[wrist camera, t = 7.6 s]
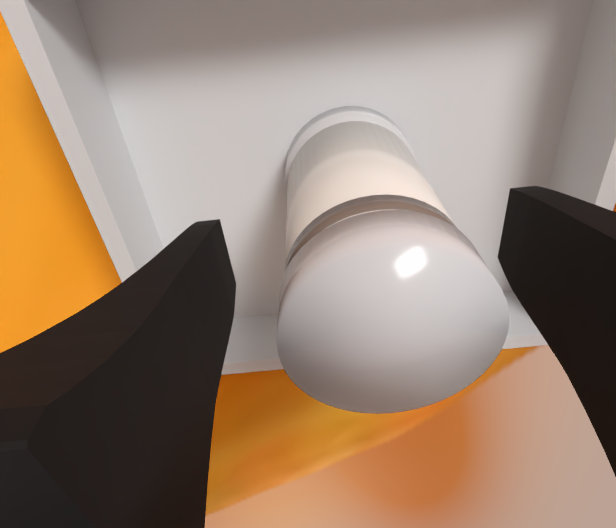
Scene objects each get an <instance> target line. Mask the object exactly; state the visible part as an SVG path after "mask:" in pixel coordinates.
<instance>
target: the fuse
mask: <svg viewBox="0 0 616 528" xmlns="http://www.w3.org/2000/svg"><path fill="white" fill-rule="evenodd" d="M285 194H286V198H287V221H286V250H285V271H284V276H283V278H282V281H281V286H280V291H279V307H278V327H277V349H278V355H279V358H280V362H281V364H282V366H283V368H284V370H285V372H286V373H287V375H288V376H289V378H290V379H291V380H292V381H293V382H294V383H295V384H296V385H297V386H298V387H299V388H300V389H301V390H302V391H304V392H305V393H306V394H308V395H309V396H311V397H313V398H314V399H316V400H318V401H320V402H322V403H325V404H327V405H329V406H333V407H336V408H339V409H343V410H348V411H352V412H360V413H377V414H378V413H394V412H402V411H408V410H413V409H417V408H421V407H424V406H428V405H431V404H433V403H436V402H439V401H441V400H444V399H446V398H448V397H450V396H452V395H454V394H456V393H457V392H459V391H461V390H462V389H464V388H466V387H467V386H468V385H470V384H471V383H472V382H474V381H475V380H476V379H477V378H479V377H480V376H481V375H482V374H483V373H484V372H485V371H486V370H487V369H488V368H489V367H490V365H491V364H492V363H493V362H494V360H495V359H496V357H497V356H498V355H499V353H500V351H501V349H502V347H503V345H504V343H505V340H506V337H507V334H508V328H509V308H508V304H507V300H506V298H505V295H504V293H503V291H502V289H501V287H500V286H499V284H498V283H497V281H496V279H495V278H494V276H493V275H492V273H491V272H490V270H489V268H488V267H487V265H486V264H485V262H484V261H483V259H482V257H481V256H480V254H479V253H478V251H477V250H476V248H475V247H474V245H473V244H472V243H471V241H470V240H469V239H468V238H467V237H466V236H465V235H464V234H463V233H462V232H461V231H460V230H458V229H457V227H456V226H455V224H454V223H453V221H452V219H451V218H450V216H449V214H448V213H447V211H446V210H445V208H444V206H443V205H442V203H441V201H440V200H439V198H438V197H437V195H436V193H435V192H434V190H433V188H432V187H431V185H430V183H429V182H428V180H427V179H426V177H425V175H424V174H423V172H422V170H421V169H420V167H419V166H418V163H417V159H416V156H415V153H414V151H413V149H412V147H411V146H410V144H409V143H408V141H407V139H406V138H405V136H404V135H403V133H402V132H401V130H400V129H399V127H398V126H397V125H396V124H395V123H394V122H393V121H392V120H391V119H389V118H388V117H387V116H385V115H383V114H382V113H380V112H378V111H375V110H373V109H370V108H366V107H360V106H343V107H338V108H334V109H331V110H327V111H325V112H323V113H321V114H319V115H317V116H316V117H314V118H313V119H311V120H310V121H309V122H308V123H306V124H305V125H304V126H303V127H302V128H301V130H300V131H299V132H298V133H297V135H296V136H295V138H294V139H293V141H292V143H291V145H290V148H289V151H288V153H287V158H286V166H285Z"/></svg>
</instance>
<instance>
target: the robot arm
mask: <svg viewBox="0 0 616 528" xmlns="http://www.w3.org/2000/svg"><path fill="white" fill-rule="evenodd" d="M498 260H499V262H500V265H501V267H502V269H503V272H504V274H505V276H506V278H507V281H508V283H509V285H510V287H511V289H512V291H513V292H514V294H515V295H516V297H517V298H518V300H519V302H520V303H521V305H522V306H523V308H524V309H525V311H526V312H527V314H528V315H529V317H530V318H531V320H532V321H533V323H534V324H535V326H536V327H537V329H538V330H539V332H540V333H541V335H542V336H543V338H544V339H545V341H546V342H547V344H548V345H549V347H550V348H551V350H552V351H553V353H554V354H555V356H556V357H557V359H558V360H559V362H560V364H561V365H562V367H563V369H564V370H565V372H566V374H567V375H568V377H569V379H570V381H571V383H572V385H573V387H574V389H575V391H576V393H577V395H578V397H579V399H580V401H581V403H582V405H583V406H584V409H585V410H586V413H587V415H588V417H589V419H590V421H591V423H592V425H593V427H594V429H595V431H596V434H597V436H598V438H599V440H600V442H601V444H602V446H603V449H604V451H605V453H606V455H607V457H608V460H609V462H610V464H611V467H612V469H613V471H614V474H615V476H616V212H614V211H611V210H608V209H606V208H603V207H600V206H597V205H595V204H592V203H589V202H586V201H583V200H581V199H578V198H575V197H572V196H570V195H567V194H564V193H561V192H558V191H555V190H551V189H548V188H544V187H539V186H528V187H518V188H510V191H509V197H508V202H507V208H506V213H505V219H504V224H503V230H502V235H501V241H500V247H499V252H498ZM235 296H236V281H235V277H234V273H233V269H232V265H231V261H230V257H229V253H228V249H227V245H226V242H225V238H224V234H223V230H222V226H221V222H220V219H217V220H207V221H198V222H195V223H193V224H192V225H191V226H189V227H188V228H187V229H186V230H185V231H183V232H182V233H181V234H180V235H179V236H178V237H176V238H175V239H174V240H173V241H172V242H171V243H170V244H169V245H167V246H166V247H165V248H164V249H163V250H162V251H160V252H159V253H158V254H157V255H156V256H155V257H154V258H152V259H151V260H150V261H149V262H148V263H146V264H145V265H144V266H143V267H141V268H140V269H139V270H138V271H136V272H135V273H134V274H132V275H131V276H130V277H129V278H127V279H126V280H125V281H124V282H122V283H121V284H120V285H118V286H117V287H116V288H114V289H113V290H111V291H110V292H109V293H107V294H106V295H104V296H103V297H101V298H100V299H98V300H97V301H95V302H94V303H92V304H90V305H89V306H87V307H86V308H84V309H83V310H81V311H79V312H78V313H76V314H74V315H73V316H71V317H69V318H67V319H65V320H64V321H62V322H60V323H58V324H56V325H55V326H53V327H51V328H49V329H47V330H46V331H44V332H42V333H40V334H38V335H37V336H35V337H33V338H31V339H29V340H27V341H25V342H23V343H21V344H19V345H17V346H14V347H12V348H10V349H8V350H6V351H4V352H2V353H0V528H204V526H205V511H206V496H207V482H208V471H209V460H210V448H211V438H212V429H213V420H214V410H215V403H216V397H217V392H218V387H219V382H220V378H221V373H222V369H223V364H224V360H225V355H226V351H227V346H228V342H229V337H230V333H231V328H232V323H233V318H234V310H235Z"/></svg>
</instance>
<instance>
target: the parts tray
mask: <svg viewBox="0 0 616 528" xmlns="http://www.w3.org/2000/svg"><path fill="white" fill-rule="evenodd" d="M0 11H1V13H2V16H3V18H4V20H5V22H6V25H7V27H8V29H9V31H10V34H11V36H12V38H13V40H14V43H15V45H16V47H17V49H18V51H19V54H20V56H21V58H22V60H23V63H24V65H25V67H26V69H27V72H28V74H29V76H30V78H31V80H32V83H33V85H34V87H35V89H36V92H37V94H38V96H39V98H40V101H41V103H42V105H43V107H44V109H45V112H46V114H47V116H48V118H49V121H50V123H51V125H52V127H53V130H54V132H55V134H56V136H57V138H58V141H59V143H60V145H61V147H62V150H63V152H64V154H65V156H66V159H67V161H68V163H69V165H70V167H71V170H72V172H73V174H74V176H75V179H76V181H77V183H78V185H79V188H80V190H81V192H82V194H83V196H84V199H85V201H86V203H87V205H88V208H89V210H90V212H91V214H92V217H93V219H94V221H95V223H96V226H97V228H98V230H99V232H100V234H101V237H102V239H103V241H104V243H105V246H106V248H107V250H108V252H109V255H110V257H111V259H112V261H113V263H114V266H115V268H116V270H117V272H118V275H119V277H120V279H121V281H122V282H124V281H125V280H126V279H127V278H129V277H130V276H131V275H132V274H134V273H135V272H136V271H138V270H139V269H140V268H141V267H143V266H144V265H145V264H146V263H148V262H149V261H150V260H151V259H152V258H154V257H155V256H156V255H157V254H158V253H159V252H160V251H162V250H163V249H164V248H165V247H166V246H167V245H169V244H170V243H171V242H172V241H173V240H174V239H175V238H176V237H178V236H179V235H180V234H181V233H182V232H183V231H185V230H186V229H187V228H188V227H189V226H191V225H192V224H193V223H195V222H198V221H207V220H217V219H220V222H221V226H222V230H223V234H224V238H225V242H226V245H227V249H228V253H229V257H230V261H231V265H232V269H233V273H234V277H235V281H236V296H235V310H234V318H233V323H232V328H231V333H230V337H229V342H228V346H227V351H226V355H225V360H224V364H223V369H222V373H221V375H225V374H236V373H247V372H258V371H269V370H280V369H284V368H283V366H282V364H281V362H280V358H279V355H278V349H277V327H278V307H279V291H280V286H281V281H282V278H283V276H284V271H285V250H286V221H287V198H286V194H285V166H286V158H287V153H288V151H289V148H290V145H291V143H292V141H293V139H294V138H295V136H296V135H297V133H298V132H299V131H300V130H301V128H302V127H303V126H304V125H305V124H306V123H308V122H309V121H310V120H311V119H313V118H314V117H316V116H317V115H319V114H321V113H323V112H325V111H327V110H331V109H334V108H338V107H343V106H360V107H366V108H370V109H373V110H375V111H378V112H380V113H382V114H383V115H385V116H387V117H388V118H389V119H391V120H392V121H393V122H394V123H395V124H396V125H397V126H398V127H399V129H400V130H401V132H402V133H403V135H404V136H405V138H406V139H407V141H408V143H409V144H410V146H411V147H412V149H413V151H414V153H415V156H416V159H417V163H418V166H419V167H420V169H421V170H422V172H423V174H424V175H425V177H426V179H427V180H428V182H429V183H430V185H431V187H432V188H433V190H434V192H435V193H436V195H437V197H438V198H439V200H440V201H441V203H442V205H443V206H444V208H445V210H446V211H447V213H448V214H449V216H450V218H451V219H452V221H453V223H454V224H455V226H456V227H457V229H458V230H460V231H461V232H462V233H463V234H464V235H465V236H466V237H467V238H468V239H469V240H470V241H471V243H472V244H473V245H474V247H475V248H476V250H477V251H478V253H479V254H480V256H481V257H482V259H483V261H484V262H485V264H486V265H487V267H488V268H489V270H490V272H491V273H492V275H493V276H494V278H495V279H496V281H497V283H498V284H499V286H500V287H501V289H502V291H503V293H504V295H505V298H506V300H507V304H508V308H509V328H508V334H507V337H506V340H505V343H504V345H503V347H502V349H510V348H520V347H531V346H542V345H548V344H547V342H546V341H545V339H544V338H543V336H542V335H541V333H540V332H539V330H538V329H537V327H536V326H535V324H534V323H533V321H532V320H531V318H530V317H529V315H528V314H527V312H526V311H525V309H524V308H523V306H522V305H521V303H520V302H519V300H518V298H517V297H516V295H515V294H514V292H513V291H512V289H511V287H510V285H509V283H508V281H507V278H506V276H505V274H504V272H503V269H502V267H501V265H500V262H499V260H498V252H499V247H500V241H501V235H502V230H503V224H504V219H505V213H506V208H507V202H508V197H509V191H510V188H518V187H528V186H539V187H544V188H548V189H551V190H555V191H558V192H561V193H564V194H567V195H570V196H572V197H575V198H578V199H581V200H583V201H586V202H589V203H592V204H595V205H597V206H600V207H603V208H606V209H608V210H611V211H613V209H614V206H615V203H616V0H0Z"/></svg>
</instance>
